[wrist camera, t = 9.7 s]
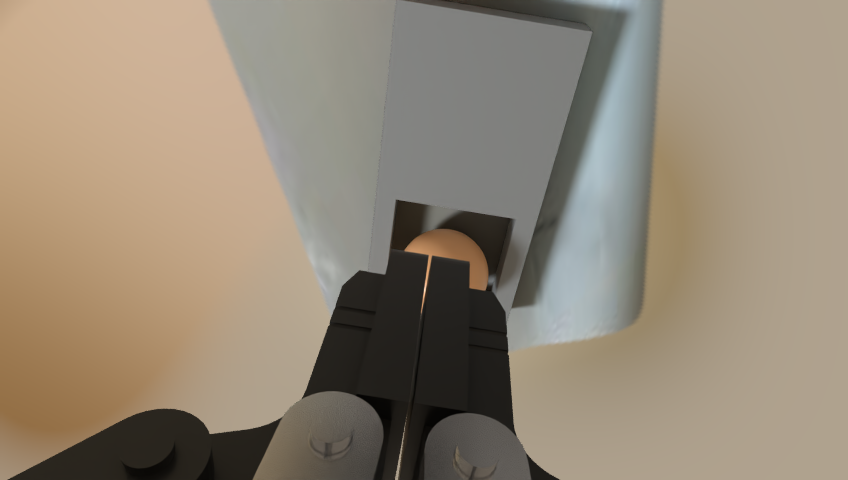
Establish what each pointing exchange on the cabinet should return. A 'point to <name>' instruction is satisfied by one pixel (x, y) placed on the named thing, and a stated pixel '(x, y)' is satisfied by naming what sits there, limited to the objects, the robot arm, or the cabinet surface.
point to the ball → (452, 253)
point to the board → (474, 119)
